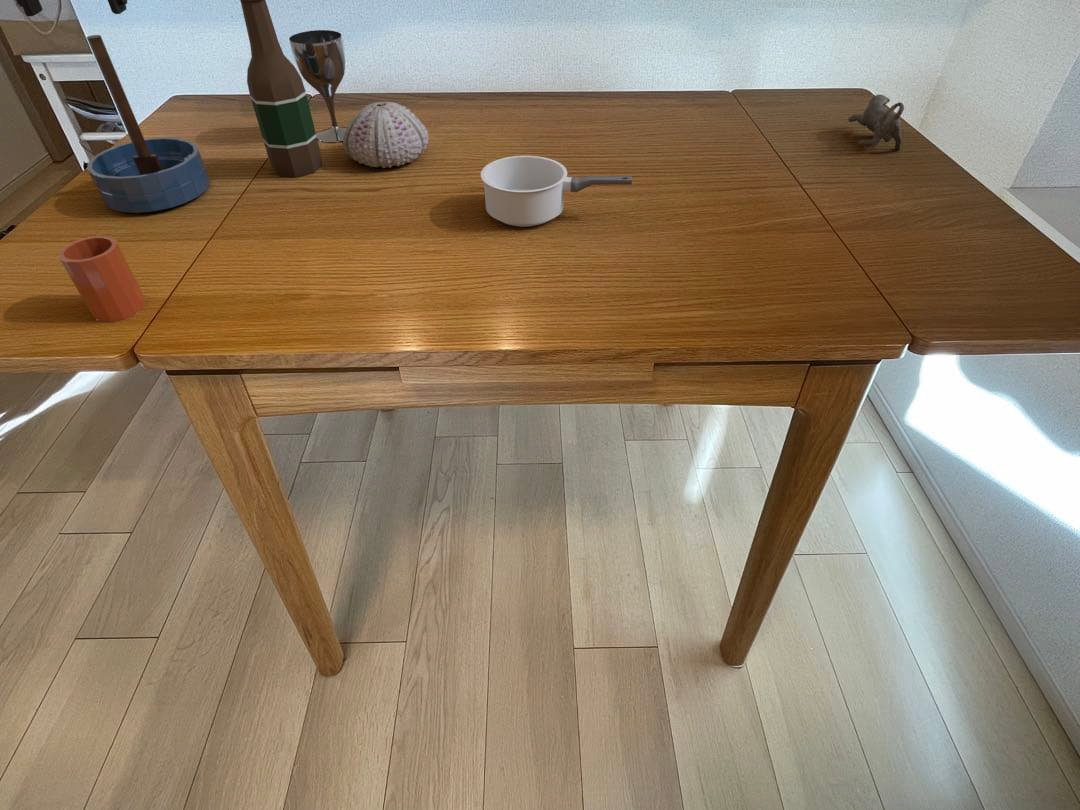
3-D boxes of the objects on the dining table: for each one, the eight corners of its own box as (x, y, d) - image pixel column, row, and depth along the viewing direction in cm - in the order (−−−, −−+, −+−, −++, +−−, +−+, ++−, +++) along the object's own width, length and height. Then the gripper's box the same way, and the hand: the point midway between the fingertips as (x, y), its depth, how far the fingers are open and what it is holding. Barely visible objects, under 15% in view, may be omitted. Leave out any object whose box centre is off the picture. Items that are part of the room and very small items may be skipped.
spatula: (146, 192, 94) (78, 38, 81) (149, 188, 95) (83, 35, 82) (168, 191, 95) (104, 37, 81) (171, 186, 96) (108, 34, 82)
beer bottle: (274, 159, 104) (223, -17, 88) (324, 155, 105) (283, -20, 89) (269, 180, 98) (213, -4, 82) (322, 175, 99) (277, -8, 83)
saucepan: (626, 238, 84) (630, 198, 81) (475, 229, 86) (472, 189, 83) (630, 199, 93) (633, 160, 89) (492, 191, 95) (489, 153, 91)
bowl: (91, 220, 89) (71, 181, 86) (123, 177, 100) (107, 140, 96) (199, 212, 91) (184, 174, 87) (220, 170, 101) (207, 134, 97)
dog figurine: (905, 155, 103) (923, 105, 98) (868, 155, 103) (884, 106, 98) (877, 127, 112) (893, 80, 107) (843, 127, 112) (857, 80, 107)
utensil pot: (88, 328, 71) (49, 264, 66) (104, 300, 75) (70, 237, 70) (140, 324, 72) (106, 259, 66) (154, 296, 76) (123, 233, 70)
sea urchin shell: (372, 181, 98) (362, 127, 92) (331, 154, 105) (320, 102, 100) (447, 158, 104) (441, 105, 98) (403, 134, 111) (395, 84, 106)
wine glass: (304, 141, 109) (279, 42, 99) (326, 124, 115) (304, 28, 105) (347, 145, 108) (326, 45, 98) (368, 127, 114) (350, 31, 103)
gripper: (-113, -176, 64) (-14, 22, 76) (76, -175, 66) (144, 18, 78) (-72, -177, 69) (14, 7, 81) (101, -176, 72) (161, 4, 83)
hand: (78, 12), depth 79 cm, fingers open, 9 cm apart
